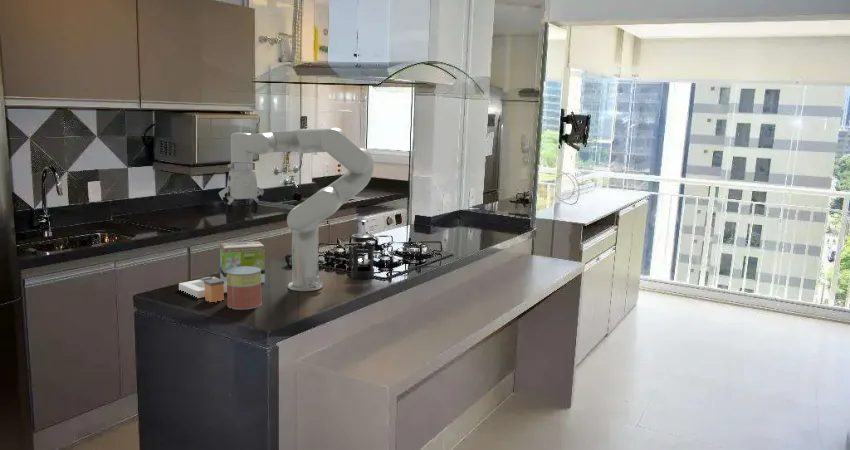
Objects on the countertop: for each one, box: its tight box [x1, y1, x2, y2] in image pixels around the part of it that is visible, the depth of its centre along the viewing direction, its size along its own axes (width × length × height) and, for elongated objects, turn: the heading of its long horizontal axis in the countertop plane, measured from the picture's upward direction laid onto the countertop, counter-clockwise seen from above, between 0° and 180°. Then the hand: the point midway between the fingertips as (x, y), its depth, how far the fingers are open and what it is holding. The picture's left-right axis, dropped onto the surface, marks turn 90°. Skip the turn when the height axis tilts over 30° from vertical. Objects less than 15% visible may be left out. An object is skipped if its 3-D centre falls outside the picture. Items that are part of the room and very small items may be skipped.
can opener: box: [284, 253, 325, 270], centre depth 272 cm, size 18×7×6 cm, turn 72°
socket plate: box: [178, 276, 227, 299], centre depth 234 cm, size 14×14×3 cm
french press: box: [348, 219, 375, 281], centre depth 257 cm, size 12×9×23 cm
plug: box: [204, 277, 225, 303], centre depth 222 cm, size 5×5×7 cm
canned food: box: [226, 266, 263, 311], centre depth 218 cm, size 11×11×12 cm
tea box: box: [219, 241, 266, 284], centre depth 246 cm, size 15×10×15 cm, turn 117°
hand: (242, 213), depth 237 cm, fingers open, 9 cm apart
